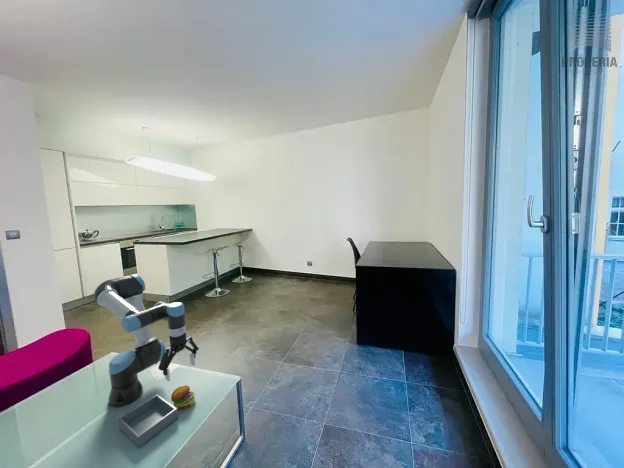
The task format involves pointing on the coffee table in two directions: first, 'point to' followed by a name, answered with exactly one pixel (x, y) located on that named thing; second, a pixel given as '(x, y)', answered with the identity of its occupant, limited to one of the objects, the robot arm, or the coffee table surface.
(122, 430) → the bin
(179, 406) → the cheeseburger
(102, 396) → the coffee table surface
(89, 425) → the coffee table surface
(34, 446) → the coffee table surface
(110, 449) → the coffee table surface
